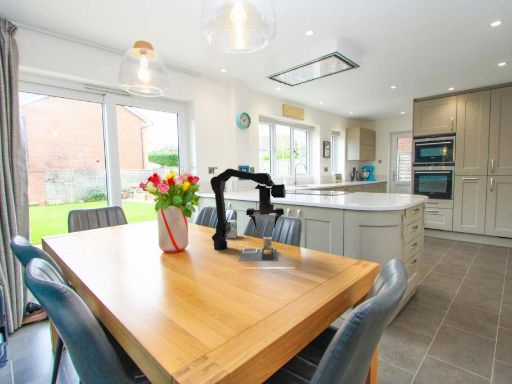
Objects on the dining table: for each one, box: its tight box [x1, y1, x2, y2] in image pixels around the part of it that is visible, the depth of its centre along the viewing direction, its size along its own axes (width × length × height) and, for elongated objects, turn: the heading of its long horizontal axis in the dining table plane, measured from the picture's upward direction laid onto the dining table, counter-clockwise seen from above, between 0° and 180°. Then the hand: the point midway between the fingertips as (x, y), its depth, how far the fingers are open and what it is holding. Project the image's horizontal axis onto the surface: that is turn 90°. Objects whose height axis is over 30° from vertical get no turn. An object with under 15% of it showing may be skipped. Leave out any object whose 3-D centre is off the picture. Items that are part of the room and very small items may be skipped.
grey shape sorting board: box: [238, 247, 278, 262], centre depth 128 cm, size 18×18×4 cm
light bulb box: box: [226, 219, 238, 239], centre depth 168 cm, size 11×7×11 cm, turn 84°
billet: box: [263, 236, 273, 251], centre depth 132 cm, size 4×4×7 cm
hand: (265, 228), depth 133 cm, fingers open, 9 cm apart
